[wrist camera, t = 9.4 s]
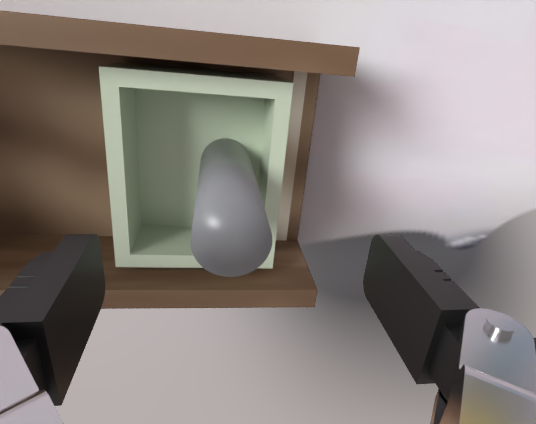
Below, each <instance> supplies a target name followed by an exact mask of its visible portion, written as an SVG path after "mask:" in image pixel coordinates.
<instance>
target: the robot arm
mask: <svg viewBox="0 0 536 424" xmlns="http://www.w3.org/2000/svg"><path fill="white" fill-rule="evenodd" d="M363 281H364V282H363V284H364V292H365V296H366V298H367V300H368V301H369V303H370V305H371V307H372V308H373V309H374V312H375V313H376V315H377V317H378V319H379V320H380V322H381V324H382V325H383V327H384V329H385V331H386V332H387V334H388V336H389V337H390V339H391V341H392V343H393V344H394V346H395V348H396V349H397V351H398V353H399V354H400V356H401V358H402V360H403V361H404V363H405V365H406V367H407V368H408V370H409V372H410V373H411V375H412V377H413V378H414V380H415V382H416V384H428V383H436V385H437V386H438V388H439V389H438V392H437V395H436V397H435V402H434V407H433V413H432V419H431V423H430V424H536V338H533V336H532V334H531V333H530V332H529V330H528V329H527V328H526V327H525V326H524V325H522V324H521V323H520V322H518V321H517V320H515V319H514V318H512V317H510V316H508V315H506V314H503V313H501V312H498V311H495V310H490V309H483V308H479V307H478V306H477V305H476V304H475V303H474V302H473V301H472V300H471V299H470V298H469V297H468V296H467V294H466V293H465V292H464V291H462V290H461V288H460V287H459V286H458V285H457V284H456V283H455V282H454V281H451V278H450V277H449V276H448V275H447V274H446V273H445V272H443V270H442V269H441V268H440V267H439V266H438V265H437V264H436V263H435V262H434V261H433V260H432V259H431V258H429V257H427V256H426V255H424V254H422V253H420V252H419V251H416V250H415V249H414V248H413V247H412V246H411V245H410V244H409V243H408V242H407V241H406V240H405V239H404V238H403V237H402V236H401V235H375V236H374V237H373V239H372V242H371V246H370V251H369V256H368V260H367V265H366V269H365V274H364V280H363ZM104 296H105V276H104V269H103V261H102V253H101V246H100V240H99V237H98V235H97V234H66V235H65V236H64V238H63V239H62V240H61V242H60V243H59V245H58V246H57V247H56V249H55V250H54V251H53V252H44V253H42V254H41V255H39V256H37V257H36V258H34V259H33V260H31V261H29V262H28V263H27V264H26V265H25V266H24V268H23V269H22V270H21V271H20V272H19V274H18V275H17V278H15V279H14V280H13V281H12V282H11V284H10V285H9V288H8V289H6V290H5V291H4V292H3V293H2V295H1V296H0V424H64V423H63V421H62V419H61V418H60V416H59V414H58V412H57V410H56V408H55V406H58V405H62V403H63V400H64V398H65V395H66V393H67V390H68V388H69V385H70V383H71V380H72V378H73V376H74V373H75V371H76V368H77V366H78V363H79V361H80V358H81V356H82V353H83V351H84V349H85V346H86V344H87V341H88V339H89V336H90V334H91V331H92V329H93V326H94V324H95V322H96V319H97V317H98V314H99V312H100V309H101V307H102V304H103V301H104Z"/></svg>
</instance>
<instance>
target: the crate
mask: <svg viewBox="0 0 536 424" xmlns="http://www.w3.org/2000/svg"><path fill="white" fill-rule="evenodd" d="M99 77H100V89H101V101H102V112H103V124H104V136H105V148H106V159H107V171H108V183H109V195H110V206H111V218H112V230H113V242H114V253H115V265H116V267H165V268H204V269H205V270H207V271H209V272H210V273H213V274H215V275H219V276H224V277H237V276H242V275H245V274H248V273H250V272H252V271H254V270H255V269H257V268H273V260H274V252H275V243H276V234H277V225H278V216H279V207H280V198H281V189H282V180H283V171H284V163H285V154H286V145H287V136H288V127H289V118H290V109H291V100H292V91H293V83H292V82H291V81H289V80H287V79H285V78H283V77H281V76H280V75H269V74H258V73H247V72H235V71H224V70H213V69H201V68H190V67H178V66H167V65H156V64H144V63H133V62H122V61H121V62H117V63H112V64H107V65H103V66H99Z"/></svg>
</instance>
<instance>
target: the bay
mask: <svg viewBox="0 0 536 424" xmlns="http://www.w3.org/2000/svg"><path fill="white" fill-rule="evenodd" d="M358 54H359V47H350V46H340V45H330V44H320V43H311V42H301V41H291V40H281V39H272V38H262V37H252V36H242V35H233V34H223V33H213V32H204V31H194V30H184V29H174V28H165V27H155V26H145V25H135V24H126V23H116V22H106V21H96V20H87V19H77V18H67V17H58V16H48V15H38V14H28V13H19V12H9V11H0V296H1V295H2V293H3V292H4V291H5V290H6V289H8V288H9V285H10V284H11V282H12V281H13V280H14V279H15V278H17V275H18V274H19V272H20V271H21V270H22V269H23V268H24V266H25V265H26V264H27V263H28V262H29V261H31V260H33V259H34V258H36V257H37V256H39V255H41V254H42V253H44V252H53V251H54V250H55V249H56V247H57V246H58V245H59V243H60V242H61V240H62V239H63V238H64V236H65V235H66V234H97V235H98V237H99V240H100V246H101V253H102V261H103V269H104V276H105V296H104V301H103V304H102V307H101V309H105V308H236V307H237V308H244V307H246V308H250V307H251V308H252V307H315V301H316V295H317V288H316V285H315V283H314V280H313V278H312V275H311V273H310V270H309V268H308V266H307V263H306V261H305V258H304V256H303V253H302V251H301V248H300V246H299V243H298V241H297V237H298V230H299V223H300V216H301V208H302V201H303V194H304V187H305V179H306V172H307V165H308V158H309V150H310V143H311V136H312V129H313V122H314V114H315V107H316V100H317V93H318V85H319V78H320V73H321V74H332V75H343V76H354V77H355V71H356V66H357V60H358ZM121 61H122V62H133V63H144V64H156V65H167V66H178V67H190V68H201V69H213V70H224V71H235V72H247V73H258V74H269V75H280V76H281V77H283V78H285V79H287V80H289V81H291V82H292V83H293V91H292V100H291V109H290V118H289V127H288V136H287V145H286V154H285V163H284V171H283V180H282V189H281V198H280V207H279V216H278V225H277V234H276V243H275V252H274V260H273V268H257V269H255V270H254V271H252V272H250V273H248V274H245V275H242V276H237V277H224V276H219V275H215V274H213V273H210V272H209V271H207V270H205V269H204V268H165V267H116V265H115V253H114V242H113V230H112V218H111V206H110V195H109V183H108V171H107V159H106V148H105V136H104V124H103V112H102V101H101V89H100V77H99V66H103V65H107V64H112V63H117V62H121Z"/></svg>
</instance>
